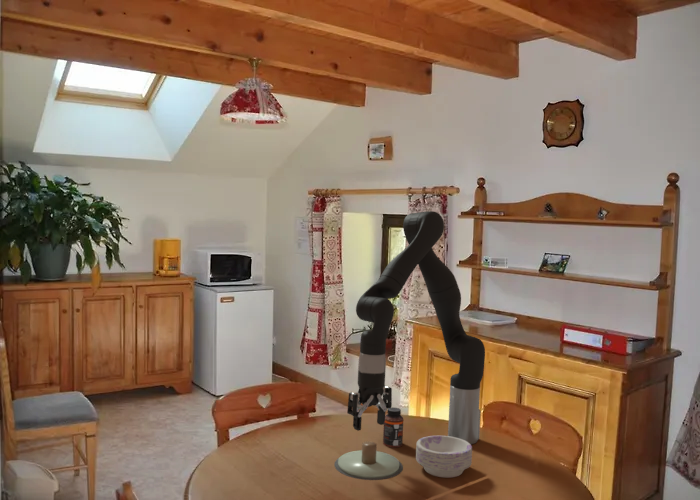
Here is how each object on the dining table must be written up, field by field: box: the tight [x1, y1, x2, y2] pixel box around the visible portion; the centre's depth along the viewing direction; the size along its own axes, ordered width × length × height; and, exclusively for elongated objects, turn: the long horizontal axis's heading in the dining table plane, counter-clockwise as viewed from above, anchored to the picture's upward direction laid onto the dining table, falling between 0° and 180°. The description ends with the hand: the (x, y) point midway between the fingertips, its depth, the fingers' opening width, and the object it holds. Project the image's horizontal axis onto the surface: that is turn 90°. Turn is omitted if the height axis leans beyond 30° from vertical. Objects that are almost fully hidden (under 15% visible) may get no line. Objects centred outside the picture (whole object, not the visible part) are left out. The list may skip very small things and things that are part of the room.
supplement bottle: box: [382, 407, 404, 448], centre depth 189 cm, size 6×6×11 cm
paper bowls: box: [415, 435, 473, 478], centre depth 171 cm, size 15×15×8 cm
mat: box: [334, 457, 404, 481], centre depth 172 cm, size 19×19×1 cm
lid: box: [337, 440, 400, 478], centre depth 172 cm, size 17×17×6 cm
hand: (369, 426), depth 172 cm, fingers open, 8 cm apart
